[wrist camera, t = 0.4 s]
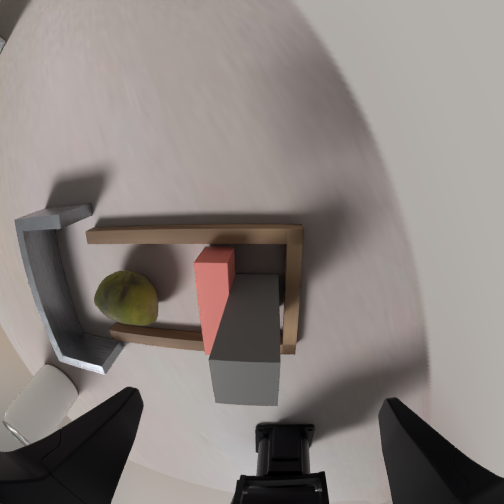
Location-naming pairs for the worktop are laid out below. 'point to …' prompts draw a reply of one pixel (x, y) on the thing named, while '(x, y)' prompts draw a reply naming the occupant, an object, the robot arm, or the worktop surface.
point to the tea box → (1, 43)
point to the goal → (60, 289)
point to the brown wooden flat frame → (211, 235)
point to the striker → (239, 329)
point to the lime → (127, 298)
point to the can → (40, 405)
